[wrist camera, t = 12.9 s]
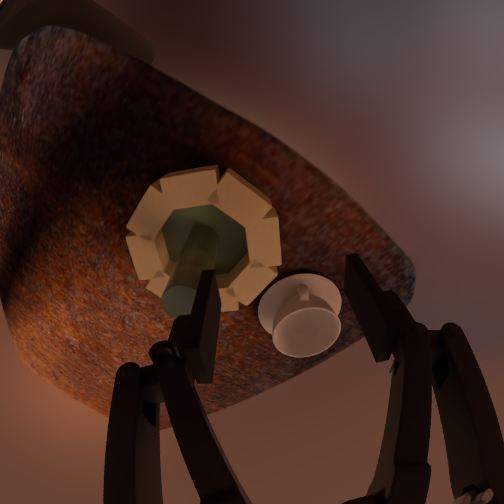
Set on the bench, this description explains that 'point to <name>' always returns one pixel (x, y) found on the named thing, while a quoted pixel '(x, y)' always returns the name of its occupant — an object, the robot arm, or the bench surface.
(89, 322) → the bench surface
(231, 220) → the stand
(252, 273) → the ring of blocks
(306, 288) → the teacup
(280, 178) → the bench surface
